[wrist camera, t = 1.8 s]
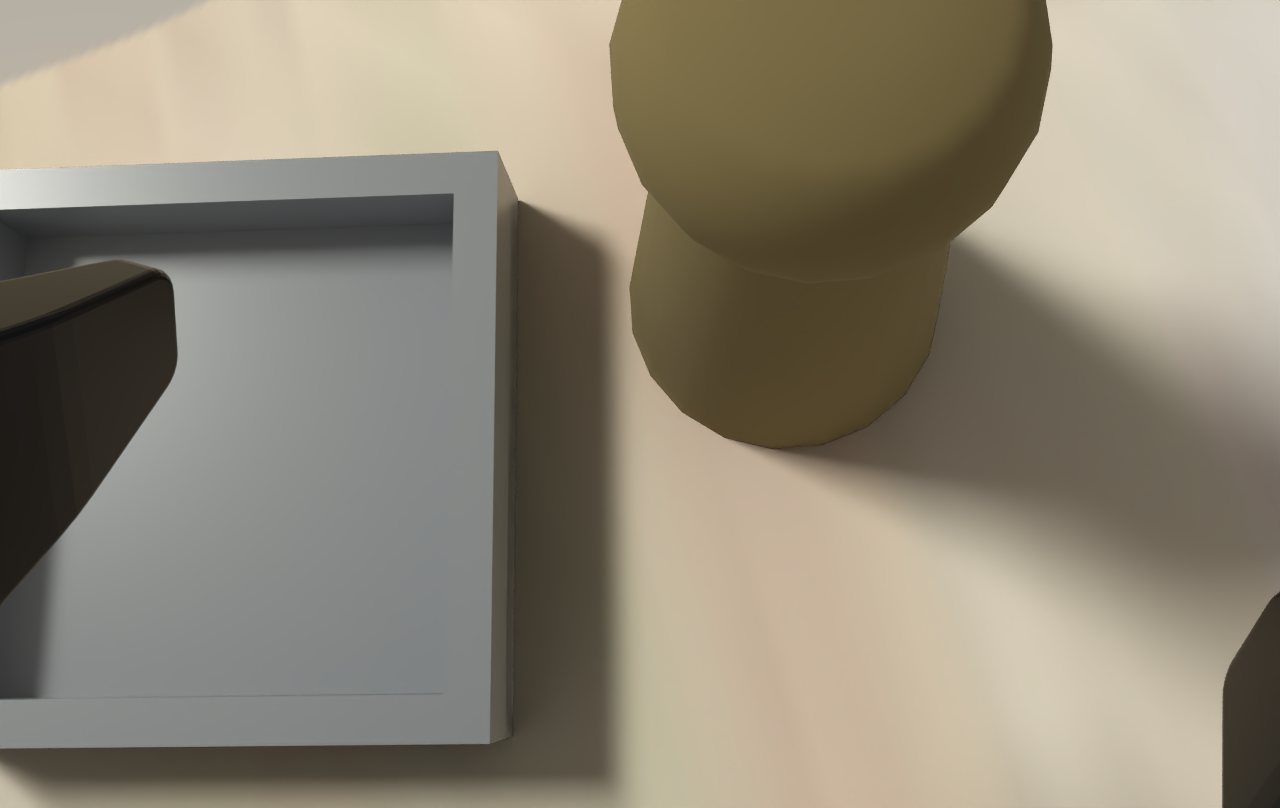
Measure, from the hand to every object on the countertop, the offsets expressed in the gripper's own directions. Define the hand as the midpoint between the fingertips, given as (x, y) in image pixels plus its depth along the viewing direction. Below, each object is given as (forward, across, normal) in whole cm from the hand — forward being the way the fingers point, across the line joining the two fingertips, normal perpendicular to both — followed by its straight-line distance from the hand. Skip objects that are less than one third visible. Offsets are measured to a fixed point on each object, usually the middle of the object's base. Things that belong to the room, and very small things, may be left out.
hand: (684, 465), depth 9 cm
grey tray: (+9, +9, +10) cm, 16 cm away
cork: (+14, 0, +5) cm, 15 cm away
